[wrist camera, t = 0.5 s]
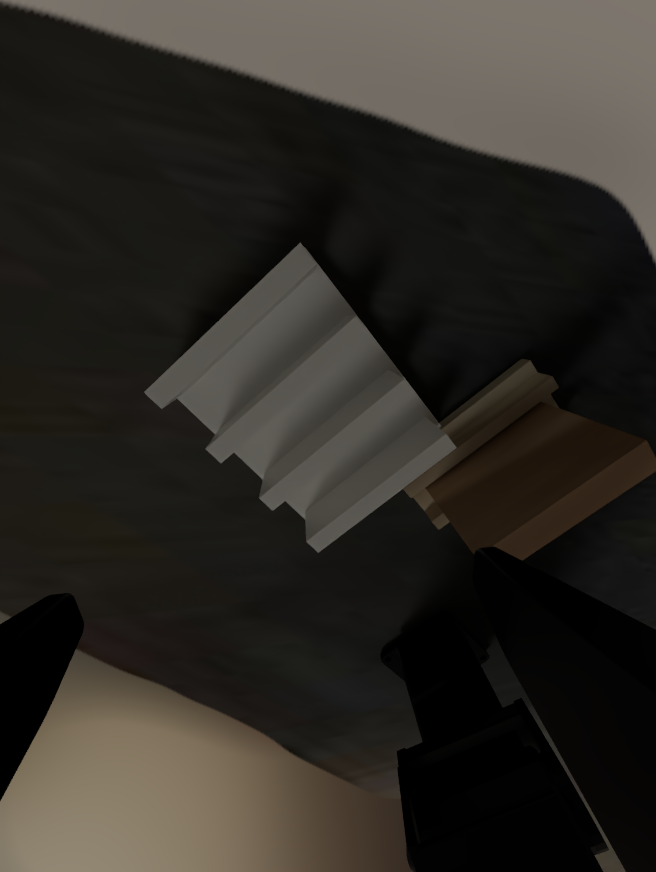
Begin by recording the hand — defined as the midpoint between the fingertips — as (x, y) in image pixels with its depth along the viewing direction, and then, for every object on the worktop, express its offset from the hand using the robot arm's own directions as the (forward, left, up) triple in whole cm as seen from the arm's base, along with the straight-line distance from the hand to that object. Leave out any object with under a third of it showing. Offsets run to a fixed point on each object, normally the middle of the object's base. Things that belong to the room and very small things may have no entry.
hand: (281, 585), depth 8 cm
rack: (0, -1, -13) cm, 13 cm away
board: (-9, -7, -12) cm, 17 cm away
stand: (-9, -7, -13) cm, 17 cm away
